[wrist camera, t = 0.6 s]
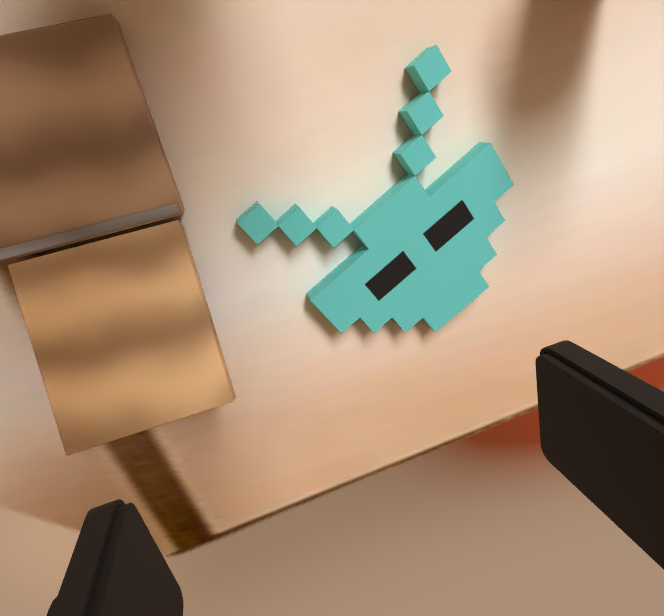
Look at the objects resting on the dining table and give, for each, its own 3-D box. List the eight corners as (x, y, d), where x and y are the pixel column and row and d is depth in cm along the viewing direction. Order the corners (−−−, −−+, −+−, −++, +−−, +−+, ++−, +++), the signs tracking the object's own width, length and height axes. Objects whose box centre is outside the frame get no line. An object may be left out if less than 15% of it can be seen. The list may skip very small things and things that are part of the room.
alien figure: (236, 218, 36) (375, 365, 45) (237, 223, 34) (382, 377, 43) (423, 49, 35) (528, 234, 44) (436, 44, 33) (544, 240, 42)
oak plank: (23, 268, 33) (7, 265, 31) (183, 225, 35) (177, 220, 33) (78, 447, 33) (66, 455, 31) (235, 396, 35) (233, 401, 33)
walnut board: (-97, 63, 27) (-121, 58, 25) (117, 21, 29) (110, 13, 27) (9, 255, 33) (-4, 263, 31) (184, 209, 35) (183, 214, 33)
